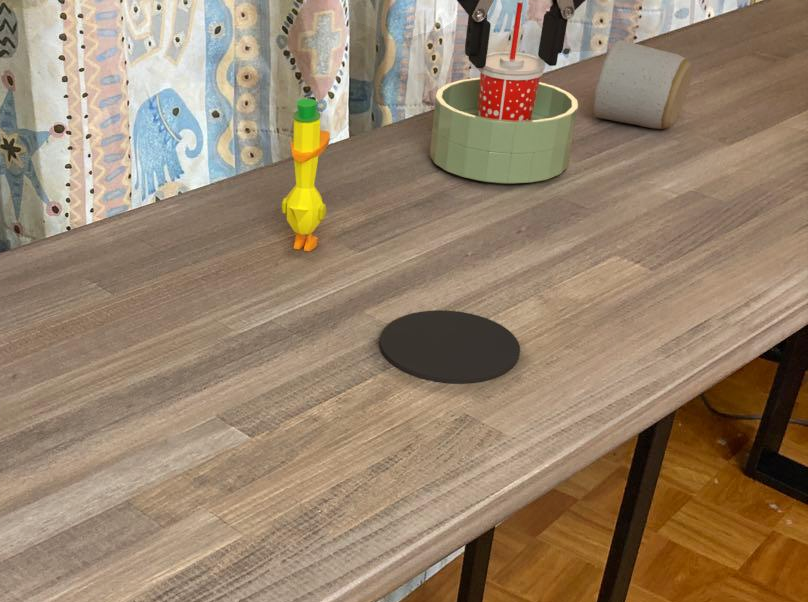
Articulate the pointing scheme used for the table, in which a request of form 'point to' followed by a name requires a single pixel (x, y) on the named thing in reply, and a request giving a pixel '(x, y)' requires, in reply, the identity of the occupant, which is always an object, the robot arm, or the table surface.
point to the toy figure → (306, 175)
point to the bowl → (502, 136)
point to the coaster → (449, 346)
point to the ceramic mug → (642, 85)
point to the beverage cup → (509, 81)
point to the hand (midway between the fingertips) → (512, 60)
